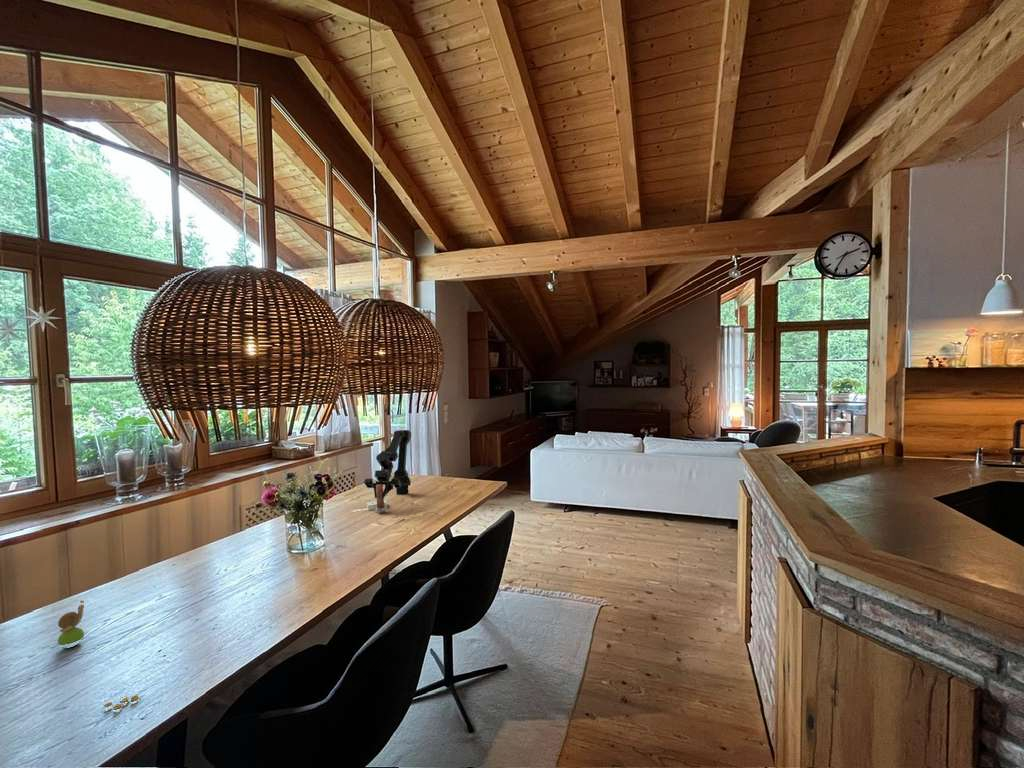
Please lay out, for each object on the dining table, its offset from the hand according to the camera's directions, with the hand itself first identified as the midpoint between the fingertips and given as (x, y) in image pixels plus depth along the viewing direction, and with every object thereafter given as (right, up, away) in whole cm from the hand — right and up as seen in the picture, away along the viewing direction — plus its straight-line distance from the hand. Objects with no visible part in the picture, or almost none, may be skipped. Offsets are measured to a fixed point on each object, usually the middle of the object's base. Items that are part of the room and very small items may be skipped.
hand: (379, 497), depth 233 cm
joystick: (0, -7, +2) cm, 7 cm away
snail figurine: (-59, -18, -102) cm, 119 cm away
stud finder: (-4, -8, +11) cm, 14 cm away
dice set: (-24, -19, -126) cm, 129 cm away
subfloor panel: (-10, -9, +13) cm, 19 cm away
